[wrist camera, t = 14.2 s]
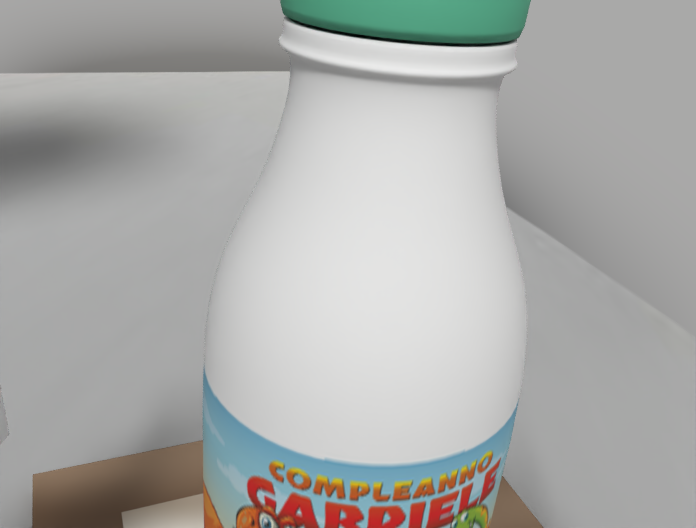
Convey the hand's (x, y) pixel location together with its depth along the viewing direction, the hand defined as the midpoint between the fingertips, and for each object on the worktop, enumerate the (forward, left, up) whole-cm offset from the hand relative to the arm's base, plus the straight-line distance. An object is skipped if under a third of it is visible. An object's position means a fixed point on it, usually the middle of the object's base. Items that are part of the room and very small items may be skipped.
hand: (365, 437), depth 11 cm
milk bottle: (-5, +2, -13) cm, 14 cm away
